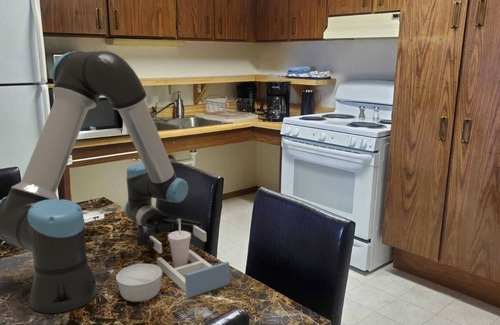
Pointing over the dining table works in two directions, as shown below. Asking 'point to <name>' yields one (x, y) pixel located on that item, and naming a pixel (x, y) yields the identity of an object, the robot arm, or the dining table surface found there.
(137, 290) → the ramekin
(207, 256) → the dining table surface
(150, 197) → the robot arm
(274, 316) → the dining table surface
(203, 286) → the drawer frame
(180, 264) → the smoothie
